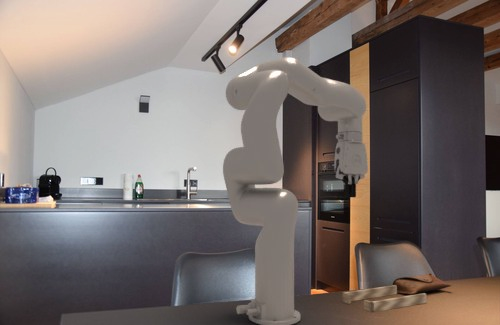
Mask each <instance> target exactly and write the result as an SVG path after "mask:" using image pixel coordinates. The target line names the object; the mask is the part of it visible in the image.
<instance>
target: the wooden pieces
mask: <svg viewBox="0 0 500 325" xmlns="http://www.w3.org/2000/svg"><path fill="white" fill-rule="evenodd" d="M341 293H342V295H341V296H342V297H341V298H342V301H341V302H342V303H346V304H348V305H351V304H352V302H353V301H355V302H356V301H362V300H363V311H366V312H370V313H377V312H381V311H382V312H383V311H388V310H394V309H399V308H400V309H401V308H404V307H410V306H416V305H421V304H422V305H424V304H427V293H425V292H421V293H415V294H409V295H404V296H398V297H393V298H385V299H381V300H380V299H379V300H374V301H372V300H371V301H370V300H368V299H373V298H380V297H386V296H393V295H397V294H398V292H397V286H396V285H393V284H391V285H386V286H379V287H373V288H372V287H371V288H367V289H358V290H352V291H351V290H350V291H344V292H341Z"/></svg>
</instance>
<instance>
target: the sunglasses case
mask: <svg viewBox="0 0 500 325" xmlns="http://www.w3.org/2000/svg"><path fill="white" fill-rule="evenodd" d="M392 285H396V286H397V294H398V293H399V294H404V295H415V294H420V293H425V292H430V291H439V290H442V289H446V288H449V287H452V284H450V283H447V282H446V281H444V280H442V279H440V278H437V277H436V276H434V275H432V273H428V274H427V273H426V274H423V275H422V274H420V275H415V276H414V275H413V276H403V277H402V276H401V277H398V278H396V279H394V280H393V282H392Z"/></svg>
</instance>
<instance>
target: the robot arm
mask: <svg viewBox="0 0 500 325" xmlns="http://www.w3.org/2000/svg"><path fill="white" fill-rule="evenodd" d="M288 94H289V95H290V96H292V97H294V98H295V99H297V100H298V101H300V103H301V102H302V103H303V104H305V105H308V106H316V107H317V112H318V114H319V116H320V118H321V119H323V120H324V121H327V122H337V134H336V135H335V138H336V139H337V143H336V146H335V150H334V162H333V163H334V173H335V178H336V179H339V180H341V181H342V183H343V185H344V197H345V198H356V197H357V185H358V184H359V181H360V180H362V179H365V178H366V177H365V176H366V174H367V173H368V171H369V170H368V167H369V166H368V165H369V164H368V155H367V154H368V153H367V149H366V144H365V143H364V142H363V116H364V115H365V113H366V110H367V103H366V99H365V97H364V96H363V94H362V93H361V92H360V91H359V90H358V89H357V88H356V87H354V86H353V85H351V84H349V83H346V82H342V81H339V80H334V79H330V78H327V77H322V76H320V75H319V74H318V73H316V72H315V71H313V70H312V69H311V68H309V67H308V66H307V65H306V64H304V63H303V62H301V61H300V60H299V59H297V58H295V57H292V56H285V57H281V58H280V57H279V58H277V59H272V60H267V61H264V62H261V63H259V64H257V65H255V66H252V67H251V68H249V69H247V70H246V71H243V72H242V73H240V74H238V75H236V76H234V77H233V78H231V79H230V80H229V81H228V83H227V85H226V88H225V98H226V101H227V103H228V104H229V106H230V107H232V108H233V109H234V110H237V111H244V113H243V115H242V118H241V123H240V135H241V140H242V145H243V146H240V147H235V148H232V149H230V150H229V151H228V152H227V153H226V155H225V157H224V159H223V164H222V175H223V179H224V184H225V188H226V189H225V190H226V192H227V195H228V196H227V197H228V201H229V205H230V209H231V213H232V214H233V216H234V218H235V219H236V221H237V222H238V223H240V224H243V225H248V226H259V227H262V228H261V229H260V232H259V234H258V236H257V238H256V240H255V246H254V256H255V258H254V259H255V260H254V265H255V266H254V269H255V270H254V279H255V280H254V298H251V299H250V302H248V303H247V304H241V305H237V306H236V314H238V315H243V314H246V315H247V316H248V319H249V321H251V322H253V324H258V325H294V324H297V323H298V322H300V321H301V318H302V317H301V313H300V312H299V311H298V310H296V309H295V231H296V224H297V220H298V214H299V201H298V199H297V197H296V195H295V194H294V193H293V192H292V191H290V190H289V189H286V188H282V187H281V188H280V187H256V185H257V186H262V185H263V186H264V185H273V184H277V183H278V182H280V181H281V180H282V178H283V177H284V173H285V168H284V160H283V159H284V158H283V155H282V152H281V151H282V150H281V145H280V141H279V135H278V129H277V119H278V114H279V112H280V109H281V106H282V105H283V103H284V101H285V100H286V98H287V96H288Z"/></svg>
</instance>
